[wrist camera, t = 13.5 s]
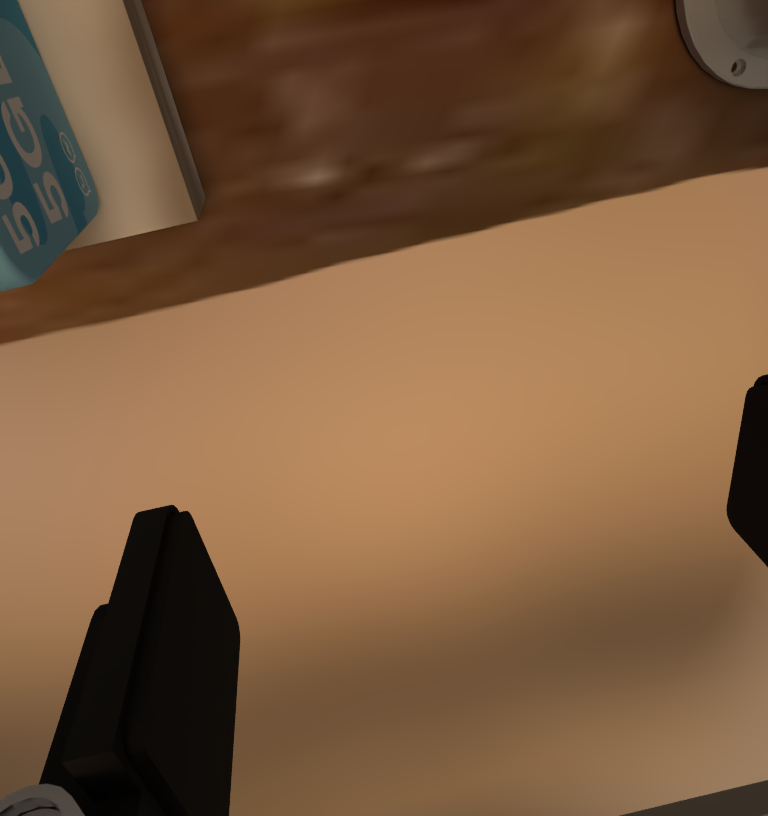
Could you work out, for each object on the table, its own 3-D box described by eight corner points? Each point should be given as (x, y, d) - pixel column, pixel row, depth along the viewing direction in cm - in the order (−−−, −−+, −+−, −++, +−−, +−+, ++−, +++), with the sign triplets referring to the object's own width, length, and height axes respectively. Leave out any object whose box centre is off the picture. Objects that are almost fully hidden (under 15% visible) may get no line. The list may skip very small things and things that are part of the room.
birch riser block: (92, -148, 28) (61, -180, 23) (205, 197, 36) (197, 220, 31) (-207, -87, 27) (-296, -109, 23) (-25, 249, 35) (-65, 280, 31)
